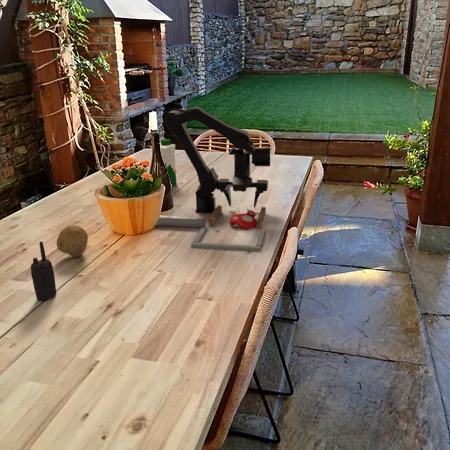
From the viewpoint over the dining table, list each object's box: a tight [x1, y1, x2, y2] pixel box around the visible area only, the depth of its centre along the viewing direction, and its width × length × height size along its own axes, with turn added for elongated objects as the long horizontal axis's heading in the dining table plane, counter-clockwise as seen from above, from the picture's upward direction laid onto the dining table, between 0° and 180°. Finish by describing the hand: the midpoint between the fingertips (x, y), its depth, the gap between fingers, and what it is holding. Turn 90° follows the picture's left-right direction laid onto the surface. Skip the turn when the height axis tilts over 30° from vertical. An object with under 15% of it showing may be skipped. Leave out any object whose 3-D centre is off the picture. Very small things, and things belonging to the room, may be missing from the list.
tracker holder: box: [229, 208, 258, 230], centre depth 165 cm, size 12×4×10 cm
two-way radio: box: [30, 241, 57, 302], centre depth 117 cm, size 6×4×15 cm
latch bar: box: [154, 214, 207, 229], centre depth 164 cm, size 18×2×3 cm, turn 79°
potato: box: [56, 224, 89, 258], centre depth 141 cm, size 9×9×10 cm
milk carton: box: [159, 138, 177, 187], centre depth 208 cm, size 9×9×20 cm
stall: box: [208, 204, 267, 230], centre depth 169 cm, size 18×15×2 cm
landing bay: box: [190, 227, 266, 252], centre depth 152 cm, size 22×14×1 cm, turn 79°
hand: (242, 206), depth 178 cm, fingers open, 9 cm apart
